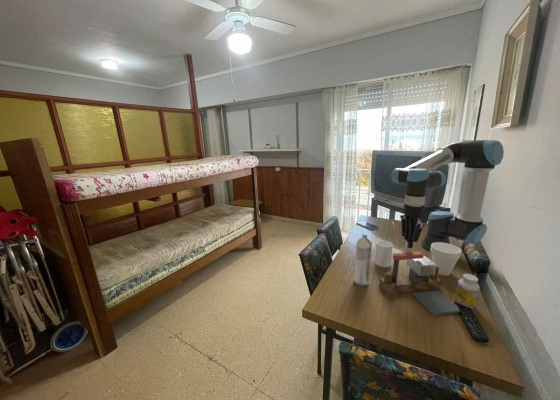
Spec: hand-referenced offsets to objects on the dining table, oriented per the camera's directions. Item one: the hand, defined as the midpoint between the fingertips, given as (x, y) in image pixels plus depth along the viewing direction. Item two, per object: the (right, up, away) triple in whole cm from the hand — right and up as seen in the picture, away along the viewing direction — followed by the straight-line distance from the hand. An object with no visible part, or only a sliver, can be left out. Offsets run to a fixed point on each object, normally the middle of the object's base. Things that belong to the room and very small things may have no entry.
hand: (407, 253), depth 102 cm
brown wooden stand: (+1, -16, 0) cm, 16 cm away
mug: (-3, -11, +19) cm, 23 cm away
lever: (-3, -1, -4) cm, 5 cm away
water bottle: (-20, -16, +5) cm, 26 cm away
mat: (+6, -19, -10) cm, 22 cm away
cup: (+24, -13, +11) cm, 29 cm away
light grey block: (+5, -7, -2) cm, 9 cm away
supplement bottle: (+17, -19, -11) cm, 28 cm away
